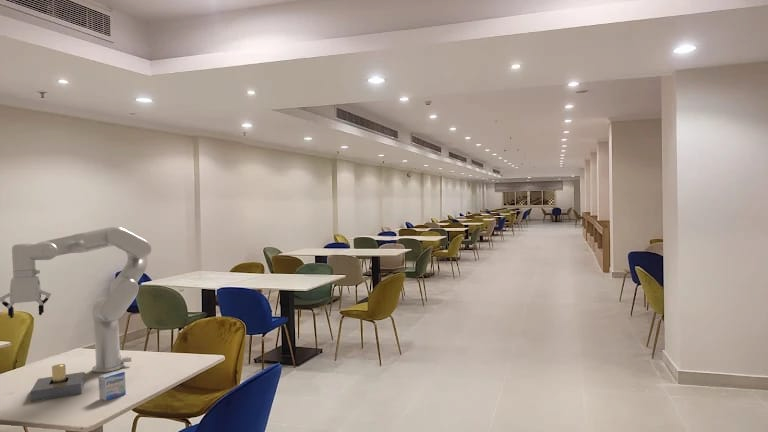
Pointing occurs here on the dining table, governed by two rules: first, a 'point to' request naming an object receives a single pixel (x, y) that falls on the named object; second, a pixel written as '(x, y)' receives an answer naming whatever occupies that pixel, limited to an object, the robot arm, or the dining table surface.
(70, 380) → the socket block
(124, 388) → the medicine box
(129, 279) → the robot arm
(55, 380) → the brass peg
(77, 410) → the dining table surface
